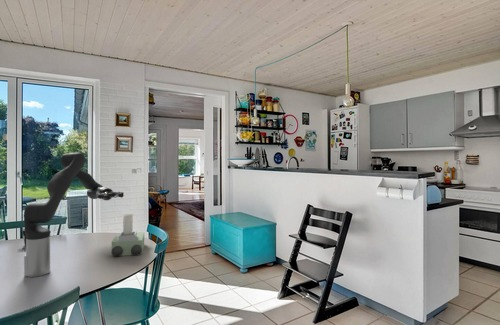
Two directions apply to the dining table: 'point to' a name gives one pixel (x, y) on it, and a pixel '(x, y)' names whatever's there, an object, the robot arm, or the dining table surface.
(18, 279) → the dining table surface
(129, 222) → the spout tube
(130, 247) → the pale green toy car
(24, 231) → the coffee mug
